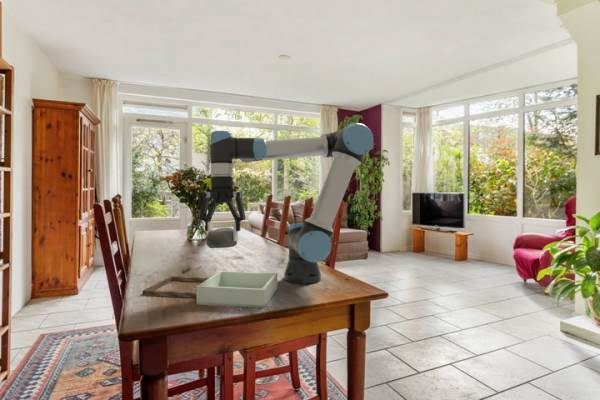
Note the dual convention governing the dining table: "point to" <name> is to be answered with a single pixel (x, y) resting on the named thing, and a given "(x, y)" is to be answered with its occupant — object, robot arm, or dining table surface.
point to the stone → (220, 238)
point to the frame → (155, 292)
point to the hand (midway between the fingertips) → (223, 240)
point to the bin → (237, 289)
